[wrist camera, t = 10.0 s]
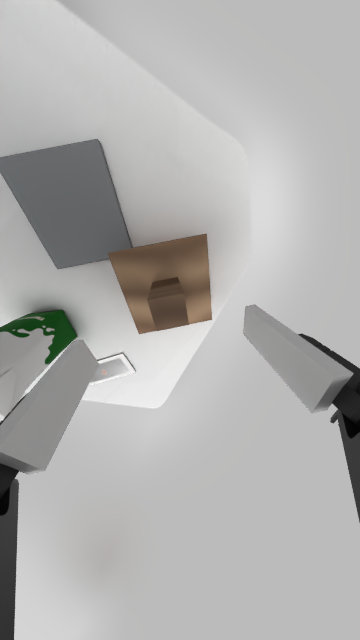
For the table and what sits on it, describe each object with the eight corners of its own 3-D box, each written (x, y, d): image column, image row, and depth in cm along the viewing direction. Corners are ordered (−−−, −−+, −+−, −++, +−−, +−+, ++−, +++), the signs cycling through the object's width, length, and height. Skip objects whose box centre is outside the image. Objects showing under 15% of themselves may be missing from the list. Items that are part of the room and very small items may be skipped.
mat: (0, 162, 19) (-8, 158, 18) (100, 143, 19) (97, 138, 18) (60, 268, 26) (57, 269, 25) (134, 253, 26) (133, 254, 25)
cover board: (109, 252, 20) (75, 259, 12) (204, 233, 20) (230, 228, 12) (139, 331, 27) (130, 367, 19) (210, 317, 27) (229, 347, 19)
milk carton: (45, 343, 34) (-81, 452, 16) (21, 309, 29) (-189, 409, 12) (83, 338, 34) (-1, 440, 17) (65, 304, 29) (-76, 395, 12)
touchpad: (136, 369, 41) (135, 375, 40) (90, 382, 42) (87, 389, 40) (123, 350, 38) (121, 356, 36) (73, 366, 38) (68, 372, 37)
